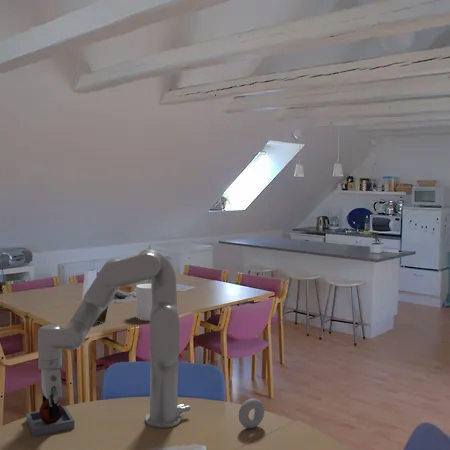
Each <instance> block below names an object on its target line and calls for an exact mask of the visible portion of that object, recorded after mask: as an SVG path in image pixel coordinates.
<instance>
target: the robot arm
mask: <svg viewBox="0 0 450 450" xmlns="http://www.w3.org/2000/svg"><path fill="white" fill-rule="evenodd" d="M147 280H150V281H151V283H150V284H151V286H152V308H151V313H150V321H149V356H150V365H149V366H150V370H149V371H150V373H149V387H150V388H149V413H146V415H145V417H144V422H145V424H146V425H148V426H150V427H153V428H158V429H165V428H167V429H168V428H172V427H175V426H177V425H179V424H180V423H181V422H182V420H183V419H182V417H183V416H182V414H183V413H188V412H191V406H190V405H184V404H179V405H178V399H179V398H178V395H179V394H178V393H179V392H178V391H179V390H178V388H179V384H178V382H179V381H178V380H179V356H180V355H179V354H180V314H179V310H178V303H177V302H178V300H177V299H178V295H177V278H176V272H175V268H174V266H173V264H172V262H171V261H170V260H169V258H167V256H165V255H164V254H162V252H160V251H158V250H156V249H151V248H148V249H143V250H142V251H140V252H139V253H138V254H137V255H134V256H130V257H127V258H124V259H119V258H111V259H108V260H107V261H106V262H105V263H104V265H102V267H101V269H100V271H99V272H98V273H97V275H96V277H95V278H94V280H93V281H92V283H91V285H90V286H89V288H88V289H87V290H86V292H85V294H84V295H83V298H82V301H81V303H80V304H79V306H78V308H77V309H76V312H75V313H74V314H73V315H72V317H71V319H70V320H69V321H68V324H67V325H66V326H65V327H64V328H62V327H61V326H60V325H58V324H53V323H51V324H44V325H42V326H40V327H39V328H38V330H37V331H38V332H37V341H38V342H37V347H38V348H37V353H38V354H37V355H38V369H39V370H40V372H41V374H40V375H41V377H40V378H41V379H40V381H41V391H42V403H43V402H44V401H46V400H49V405H50V406H49V419H51V418H56V417H59V403H60V401H59V398H62V396H63V395H62V394H63V392H62V391H63V390H62V389H63V388H62V375H61V369H60V368H62V366H63V350H68V351H70V350H71V351H72V350H77V349H79V348H80V347H81V346H82V345H83V343H84V340H85V339H86V337H87V335H88V333H89V332H90V330H91V329H92V327H93V325H94V324H95V321H96V319H97V318H98V317H99V315H100V314H101V313H102V312H103V311H104V310H105V309H106V308H107V306H108V307H109V304H110V303H111V301H112V300H113V299H114V297H115V295H116V293H117V292H118V290H120V288H121V287H125V286H128V285H133V284H137V283H140V282H144V281H147ZM52 399H53V400H52ZM51 400H52V402H51Z"/></svg>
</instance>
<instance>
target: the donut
mask: <svg viewBox="0 0 450 450" xmlns="http://www.w3.org/2000/svg"><path fill="white" fill-rule="evenodd" d="M252 410H254V412H253V415H252V416H251V417H249V413H250V412H251V411H252ZM265 412H266V411H265V406H264V404H263V402H261V400H259V398H258V399H257V398H253V397H252V398H249V399H247V400H245V401H244V402H243V403H242V404H241V406H240V407H239V410H238V421H239V423H240V425H242V427H244V428H245V429H246V428H247V429H253V428H256V427H258V426H259V425H260V424H261V423H262V421H263V419H264V417H265Z"/></svg>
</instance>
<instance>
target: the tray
mask: <svg viewBox="0 0 450 450" xmlns="http://www.w3.org/2000/svg"><path fill="white" fill-rule="evenodd" d="M62 408H63V413H62V416H61V418H60V419H59V420H58V421H57V422H55V423H52V424H48V423H45V422H44V421H42V419H41V417H40V414H39V411H40V410H37V411H32V412H26V422H27V425H28V427H29V430H30V432H31V434H32V437H33V438H35V437H39V436H44V435H47V434H53V433H57V432H62V431H66V430H71V429H75V419H74V417H73V416H72V415H71V412H70V411H69V409H68V408H67V406H66V405H65V406H64V405H63V406H62Z"/></svg>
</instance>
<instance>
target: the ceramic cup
mask: <svg viewBox="0 0 450 450" xmlns="http://www.w3.org/2000/svg"><path fill="white" fill-rule="evenodd" d="M108 310H109V305H108V306H107V308H106V309H105V310H104V311H103V312H102V313H101V314H100V315H99V317H98V318H97V319H96V321H95V322H104V323H105V322H106V320H107V315H108ZM95 322H94V323H95Z"/></svg>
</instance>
